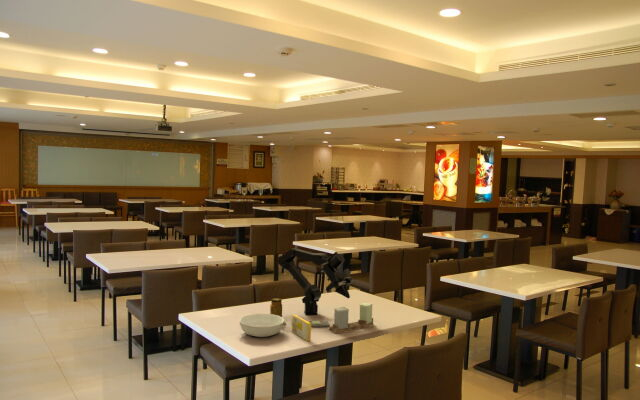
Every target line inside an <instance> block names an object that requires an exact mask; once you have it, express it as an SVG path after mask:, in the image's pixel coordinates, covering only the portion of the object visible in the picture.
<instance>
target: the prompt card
mask: <svg viewBox="0 0 640 400" xmlns="http://www.w3.org/2000/svg"><path fill="white" fill-rule="evenodd" d="M308 322H310V323H311V329H313V328H329V327H330V326H331V324H330V323H329V321H328V320H313V321H312V320H311V321H308Z"/></svg>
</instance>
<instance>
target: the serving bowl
mask: <svg viewBox="0 0 640 400" xmlns="http://www.w3.org/2000/svg"><path fill="white" fill-rule="evenodd" d="M284 320H285V319H284V318H283V316H282V317H280V316H277V315H273V314H270V313H253V314H252V313H251V314H247V315H244V316H242V317H241V318H240V319H239V326H240V328H241V330H242V331H243V332H244V333H245V334H247V335H249V336H253V337H256V338H263V337H264V338H265V337H270V336H273V335H276V334H278V333H279V332H280V331H281V330H282V329H283V327H284V325H285V324H284Z"/></svg>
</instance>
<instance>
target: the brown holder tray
mask: <svg viewBox="0 0 640 400" xmlns="http://www.w3.org/2000/svg"><path fill="white" fill-rule="evenodd" d="M331 324H332V325H330V327H328V330H329V331H331V332H333V334H341V333H348V332H351V331H352V330H353V331H354V330H358V329H364V330H365V329H367V328H369V327H371V326H373V325H374V317H372V322H370V323H368V324H367V321H364V320H360V319H358V320H357V321H355V322H348V328H345V329H338V326H337V325H335V324H334V323H331Z"/></svg>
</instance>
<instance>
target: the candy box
mask: <svg viewBox="0 0 640 400" xmlns="http://www.w3.org/2000/svg"><path fill="white" fill-rule="evenodd" d="M291 332H292V333H293V334H295V335H296V336H298V337H300V338H302V339H303V340H304V341H306V342H310V341H311V340H312V339H311V337H312V336H311V335H312V328H311V323H310V322H309V321H308V320H306V319H304V318H302V317H300V316H299V315H297V314H292V317H291Z"/></svg>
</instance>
